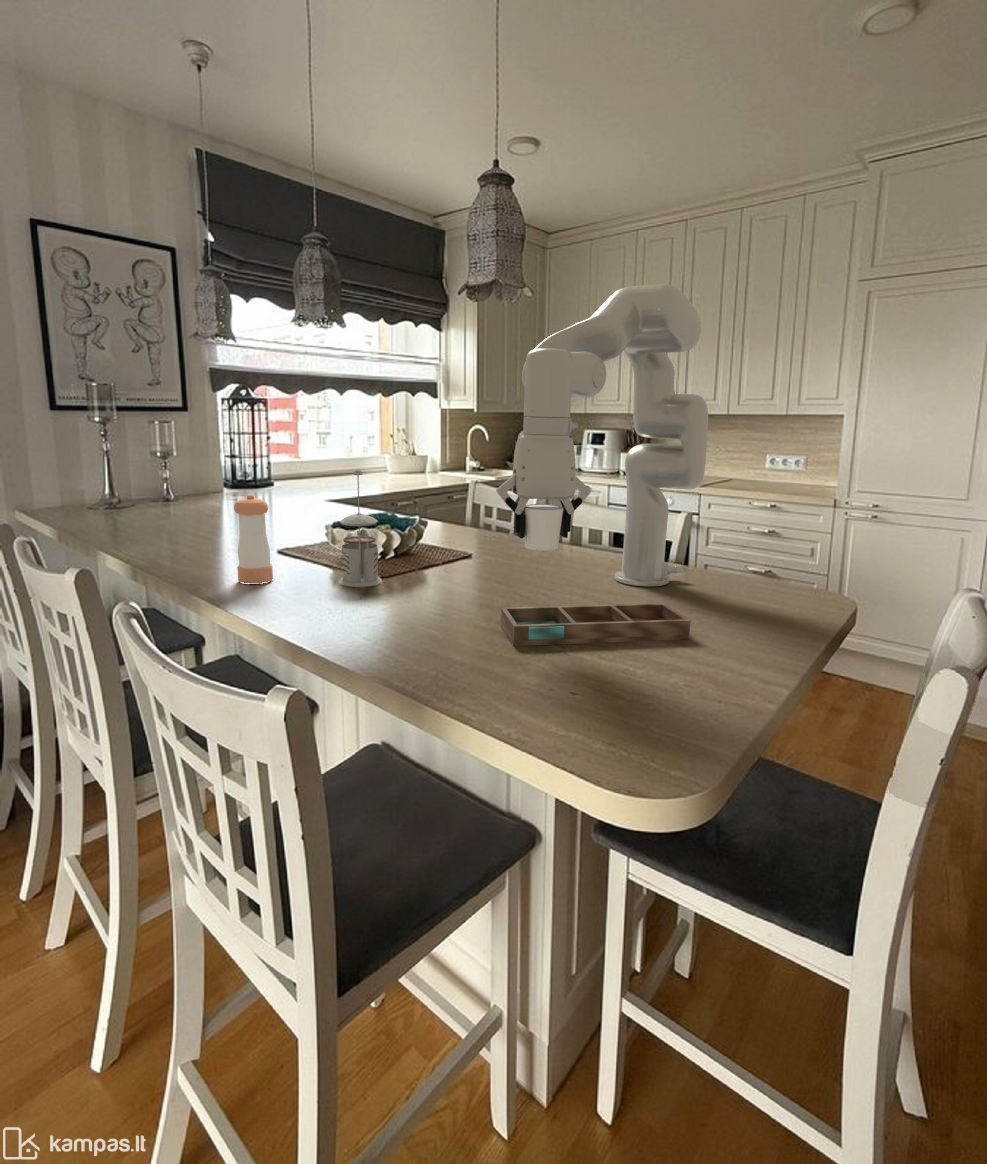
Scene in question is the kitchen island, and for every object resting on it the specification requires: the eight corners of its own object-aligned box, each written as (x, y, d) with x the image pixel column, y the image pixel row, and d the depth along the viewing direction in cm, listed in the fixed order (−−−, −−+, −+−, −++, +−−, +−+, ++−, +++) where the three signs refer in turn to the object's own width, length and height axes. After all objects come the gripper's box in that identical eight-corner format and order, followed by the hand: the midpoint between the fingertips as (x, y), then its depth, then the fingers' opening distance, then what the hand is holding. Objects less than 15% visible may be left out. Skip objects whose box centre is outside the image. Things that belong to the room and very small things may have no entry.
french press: (378, 575, 158) (377, 467, 151) (387, 587, 147) (385, 472, 141) (336, 577, 154) (332, 467, 148) (341, 590, 144) (337, 472, 138)
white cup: (565, 545, 116) (567, 505, 115) (556, 552, 110) (558, 510, 108) (527, 542, 119) (529, 502, 117) (516, 549, 112) (517, 507, 111)
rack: (662, 620, 128) (664, 603, 127) (690, 640, 117) (692, 621, 116) (500, 625, 122) (501, 607, 121) (513, 646, 111) (514, 627, 111)
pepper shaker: (277, 582, 149) (272, 496, 144) (243, 586, 145) (237, 497, 140) (267, 575, 154) (262, 492, 150) (234, 579, 150) (228, 493, 146)
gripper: (590, 429, 115) (584, 532, 119) (489, 427, 112) (487, 533, 116) (604, 430, 108) (598, 540, 112) (498, 428, 104) (495, 541, 109)
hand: (541, 535), depth 114 cm, fingers closed on white cup, 6 cm apart
